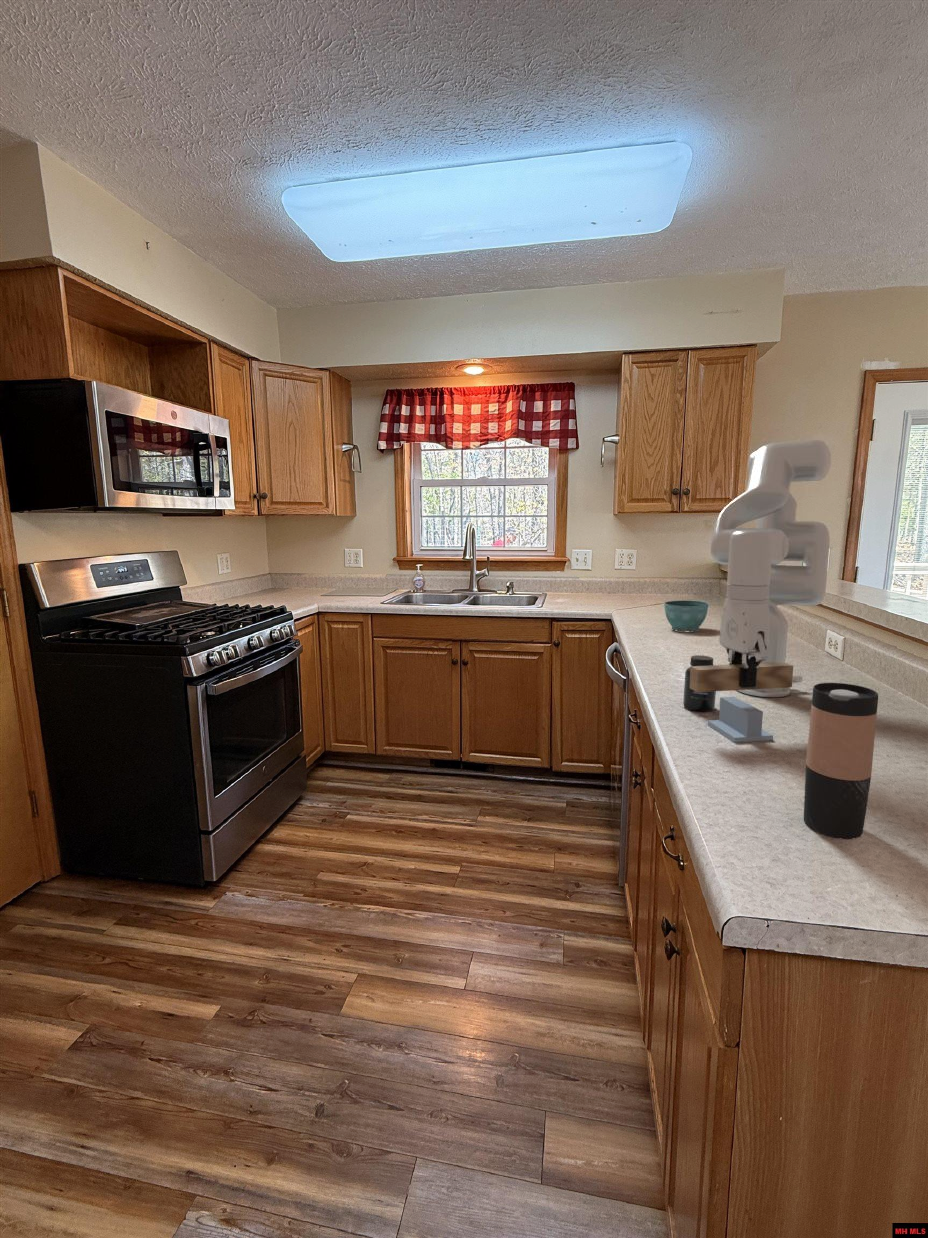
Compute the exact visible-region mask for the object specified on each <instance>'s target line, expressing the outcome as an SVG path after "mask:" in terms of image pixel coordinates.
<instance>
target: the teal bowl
mask: <svg viewBox="0 0 928 1238" xmlns="http://www.w3.org/2000/svg"><path fill="white" fill-rule="evenodd" d="M663 606H664V612H665V613H664V614H665V616H666V620H667V621H668V623H669V624H670V626H671V629H673V630H672V631H674V630H677V631H676V632H678V631H690V632H689V633H692V632H691V631H696V632H698V631H699V629H700V627H701V626H702V624H703V623H704V621H705V620H706V619H707V614H708V608H709V602H706V601H701V600H689V599H687V600H686V599H685V600H682V599H679V600H668V601H665V602H664V603H663Z"/></svg>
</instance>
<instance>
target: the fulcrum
mask: <svg viewBox="0 0 928 1238" xmlns="http://www.w3.org/2000/svg"><path fill="white" fill-rule="evenodd" d="M718 715H719V716H718V719H713V720H711V719H710V720H707V726H708V727H710V728H712V730H714V731H716V732H717V733H719V734H720V735H722V736H723V737H724V738H727V739H728V740H730V741H731V742H733V743H735V744H736V743H749V742H750V743H752V742H763V741H764V742H765V741H766V742H767V741H773V740H774V734H772V733H770V732H768V731H766V730H764V729H763V715H764V711H762V710H760V709H758V708H756V707H754V706H753V705H750V704H749V703H747V702H745V701H744V700H741V699H739V698H738V697H736V696H721V697H720V698H719V713H718Z"/></svg>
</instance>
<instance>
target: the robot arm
mask: <svg viewBox="0 0 928 1238" xmlns="http://www.w3.org/2000/svg"><path fill="white" fill-rule="evenodd" d="M830 449H831V448H830V447H829V446H828V445H827V443H826V442H824V441H822V440H819V439H804V440H791V441H781V442H780V441H778V442H772V443H771V442H770V443H768V444H767V443H766V444H765V445H762V446H761V447H759V448H758V449H757V450H755V451H753V452H752V453H751V454H750V455H749V457H748V460H747V472H748V479H747V484H746V487H745V488H746V489H745V492H743V493H741V494H740V495H739V496H737V497H736V498H734V499H733V500H732V501H731V502H729V504H727V505H726V506H724V508H723V509H722V510H721V512H720V513H719V514H718V516H717V517H716V522H715V524H714V527H713V528H714V529H713V533H712V537H711V542H710V555H711V558H712V560H713V561H715V562H716V563H717V564H719V565H727V582H726V598H725V599H724V603H723V608H722V613H721V619H720V627H719V639H718V641H719V644H720V646H722V647H723V648H724V649H725V650H726V653H727V655H728V656H727V661H728V663H729V664H728V665H732V664H743V667H740V680H739V686H740V687H742V688H746V687H755V686H756V676H757V668H759V664H760V663H774V662H785V663H786V656H787V643H788V631H789V622H788V620H787V617H786V616H785V614H783V612H782V611H781V610H780V608H779V607H778V606H795V607H796V606H798V607H799V606H800V607H815V606H819V605H820V604H822V602H823V600H824V598H825V595H826V588H827V579H828V578H827V576H828V568H829V566H828V565H829V557H830V556H829V555H830V554H829V553H830V542H831V541H830V532H829V528H828V526H827V525H826V524H825V523H823V522H821V521H813V520H812V521H811V520H810V521H807V520H806V521H805V520H804V521H797V520H796V515H797V508H798V507H797V506H798V505H797V501H796V498H794V496H793V495H792V493H791V492H790V490H791V483H796V482H797V483H798V482H816V481H817V482H818V481H822V480H823V479H826V477H827V476H828V473H829V471H830V469H831V466H832V465H831V464H832V454H831V450H830ZM754 520H756V521H755V527H751V528H749V527H748V528H746V527H744V528H740V527H739V526H741V525H744V524H746V523H748V522H752V521H754ZM738 527H739V528H738ZM782 562H802V563H804V564H805V565H785V564H783V565H782V564H780V563H782ZM779 564H780V565H779ZM801 683H803V676H802V675H801V674H797V675H794V674H793V678H792V684H801ZM736 691H737V692H740V693H743V694H745V695H750V696H755V697H760V698H761V697H762V698H782V697H787V696H789V695H790V694H791V687H789V688H770V689H751V690H736Z"/></svg>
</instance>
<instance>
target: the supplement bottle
mask: <svg viewBox="0 0 928 1238" xmlns="http://www.w3.org/2000/svg"><path fill="white" fill-rule="evenodd" d="M689 665H690V666H689V667H688V668H686V670H685V673H684V684H683V702H682V705H683V707H684V708H685V709H686V710H689V711H693V712H699V713H708V712H712V711H714V710H715V707H716V695H717V691H712V692H696V691H694V690H692V689H690V668H691V666H710V665H714V657H711V656H708V655H696V654H695V655H692V656H691V657H690V662H689Z"/></svg>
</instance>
